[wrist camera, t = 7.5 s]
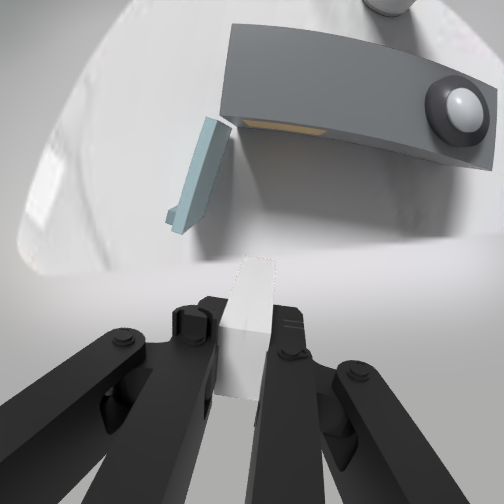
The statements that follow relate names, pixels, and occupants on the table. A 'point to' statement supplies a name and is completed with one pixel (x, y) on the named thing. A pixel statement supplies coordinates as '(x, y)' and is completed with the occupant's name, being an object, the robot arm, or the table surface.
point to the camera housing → (357, 95)
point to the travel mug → (389, 6)
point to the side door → (200, 176)
